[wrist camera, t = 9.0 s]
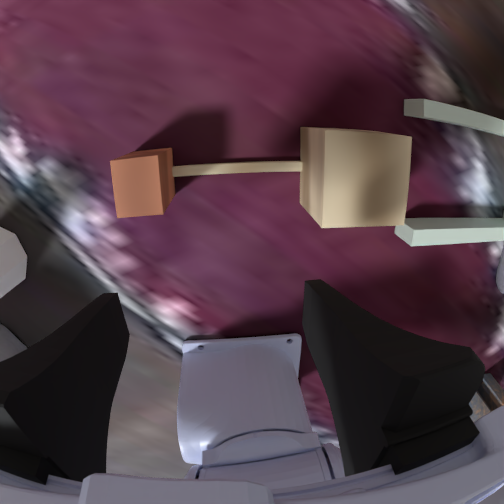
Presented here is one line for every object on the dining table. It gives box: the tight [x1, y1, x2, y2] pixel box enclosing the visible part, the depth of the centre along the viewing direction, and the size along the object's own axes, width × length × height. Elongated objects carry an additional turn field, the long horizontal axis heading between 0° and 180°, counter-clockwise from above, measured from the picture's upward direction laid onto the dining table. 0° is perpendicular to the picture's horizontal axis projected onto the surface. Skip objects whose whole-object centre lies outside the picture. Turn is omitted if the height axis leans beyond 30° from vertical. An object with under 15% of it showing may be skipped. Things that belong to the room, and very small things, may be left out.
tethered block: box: [110, 127, 412, 228], centre depth 17 cm, size 16×5×5 cm, turn 91°
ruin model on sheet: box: [469, 373, 504, 422], centre depth 30 cm, size 11×3×10 cm, turn 168°
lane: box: [395, 99, 504, 246], centre depth 18 cm, size 14×10×5 cm
